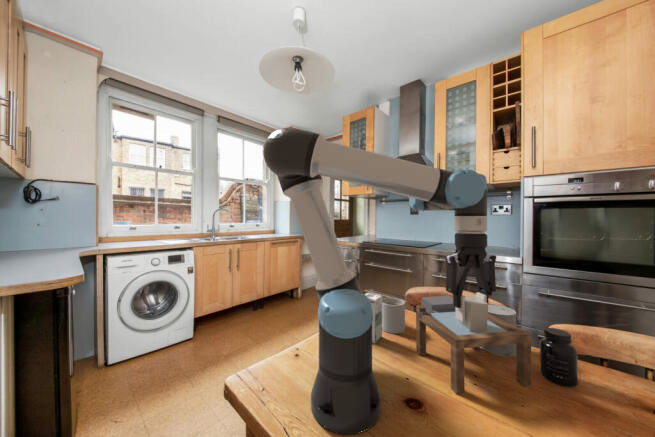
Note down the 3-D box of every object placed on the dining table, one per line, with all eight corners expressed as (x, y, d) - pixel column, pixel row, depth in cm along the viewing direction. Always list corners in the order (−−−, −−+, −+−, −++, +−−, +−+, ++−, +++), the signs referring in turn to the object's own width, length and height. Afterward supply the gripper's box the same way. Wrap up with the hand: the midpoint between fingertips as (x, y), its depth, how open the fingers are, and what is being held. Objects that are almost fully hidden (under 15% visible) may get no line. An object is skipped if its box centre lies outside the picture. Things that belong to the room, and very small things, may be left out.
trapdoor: (456, 345, 59) (457, 329, 58) (415, 309, 79) (415, 297, 78) (507, 341, 61) (508, 325, 61) (454, 306, 81) (455, 295, 80)
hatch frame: (456, 394, 55) (456, 333, 55) (416, 351, 72) (416, 305, 73) (531, 385, 57) (531, 327, 58) (475, 346, 75) (474, 302, 75)
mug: (398, 336, 82) (398, 307, 82) (374, 327, 88) (374, 301, 89) (411, 325, 90) (411, 299, 90) (388, 318, 96) (388, 294, 97)
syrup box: (367, 332, 85) (366, 292, 85) (382, 337, 81) (382, 295, 81) (359, 339, 80) (359, 296, 80) (375, 344, 77) (375, 299, 77)
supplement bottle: (541, 367, 65) (540, 323, 65) (577, 379, 60) (577, 331, 60) (539, 379, 60) (538, 331, 60) (578, 393, 55) (577, 341, 55)
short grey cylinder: (517, 361, 68) (516, 317, 68) (477, 350, 73) (477, 310, 73) (516, 346, 75) (515, 307, 75) (480, 337, 81) (480, 301, 81)
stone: (456, 321, 66) (457, 297, 65) (472, 320, 66) (473, 296, 66) (469, 331, 61) (470, 304, 60) (486, 329, 61) (488, 303, 61)
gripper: (447, 233, 59) (448, 327, 59) (513, 232, 61) (514, 322, 61) (430, 232, 66) (430, 315, 66) (489, 231, 69) (490, 311, 69)
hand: (470, 318), depth 64 cm, fingers open, 6 cm apart
